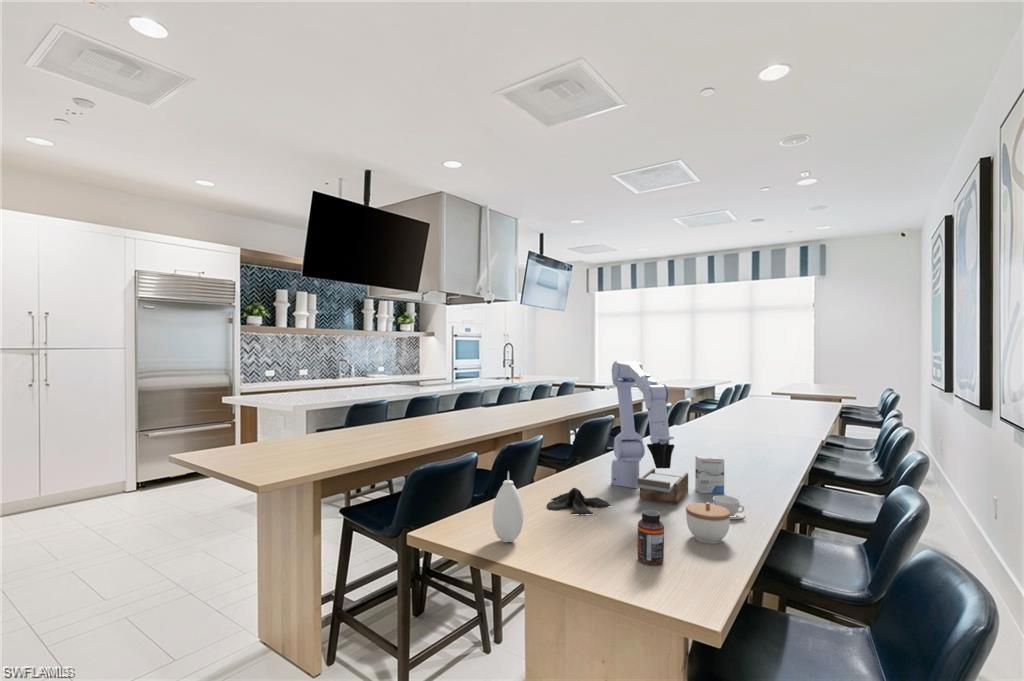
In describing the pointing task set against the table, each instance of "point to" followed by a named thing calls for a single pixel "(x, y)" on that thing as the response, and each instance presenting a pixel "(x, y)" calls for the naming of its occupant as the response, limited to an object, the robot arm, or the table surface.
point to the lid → (658, 482)
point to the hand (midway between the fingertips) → (663, 468)
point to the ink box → (709, 474)
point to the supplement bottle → (650, 538)
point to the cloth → (576, 502)
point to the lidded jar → (707, 521)
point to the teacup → (730, 505)
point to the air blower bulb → (507, 512)
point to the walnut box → (666, 497)
